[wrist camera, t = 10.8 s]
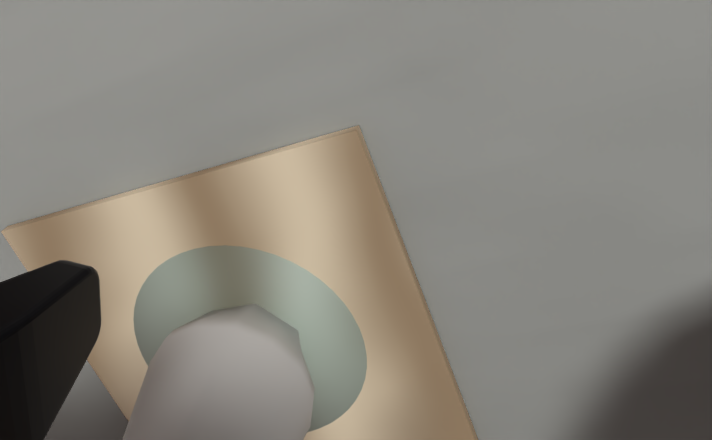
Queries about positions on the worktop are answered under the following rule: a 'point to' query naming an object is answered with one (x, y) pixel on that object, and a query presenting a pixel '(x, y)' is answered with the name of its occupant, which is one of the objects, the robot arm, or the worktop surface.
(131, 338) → the board
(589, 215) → the worktop surface
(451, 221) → the worktop surface
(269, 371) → the salt shaker
